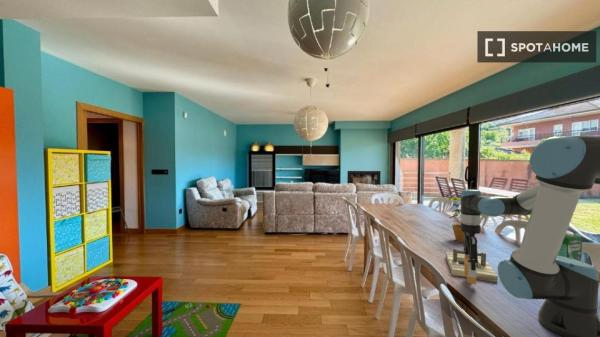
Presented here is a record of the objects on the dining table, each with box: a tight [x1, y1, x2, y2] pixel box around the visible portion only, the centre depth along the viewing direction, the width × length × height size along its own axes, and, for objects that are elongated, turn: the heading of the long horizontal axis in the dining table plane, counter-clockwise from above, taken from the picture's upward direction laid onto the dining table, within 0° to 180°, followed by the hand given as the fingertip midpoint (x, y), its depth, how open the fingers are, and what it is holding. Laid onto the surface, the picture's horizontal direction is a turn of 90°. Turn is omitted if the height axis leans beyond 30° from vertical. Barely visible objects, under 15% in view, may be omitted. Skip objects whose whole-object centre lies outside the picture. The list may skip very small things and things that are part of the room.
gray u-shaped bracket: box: [452, 248, 487, 266], centre depth 131 cm, size 2×14×9 cm, turn 66°
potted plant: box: [448, 196, 464, 243], centre depth 176 cm, size 18×19×30 cm
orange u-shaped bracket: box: [463, 256, 478, 285], centre depth 115 cm, size 9×3×9 cm, turn 156°
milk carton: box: [557, 230, 583, 262], centre depth 114 cm, size 9×9×25 cm
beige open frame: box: [445, 252, 498, 283], centre depth 131 cm, size 25×18×3 cm
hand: (470, 272), depth 115 cm, fingers closed on orange u-shaped bracket, 9 cm apart
